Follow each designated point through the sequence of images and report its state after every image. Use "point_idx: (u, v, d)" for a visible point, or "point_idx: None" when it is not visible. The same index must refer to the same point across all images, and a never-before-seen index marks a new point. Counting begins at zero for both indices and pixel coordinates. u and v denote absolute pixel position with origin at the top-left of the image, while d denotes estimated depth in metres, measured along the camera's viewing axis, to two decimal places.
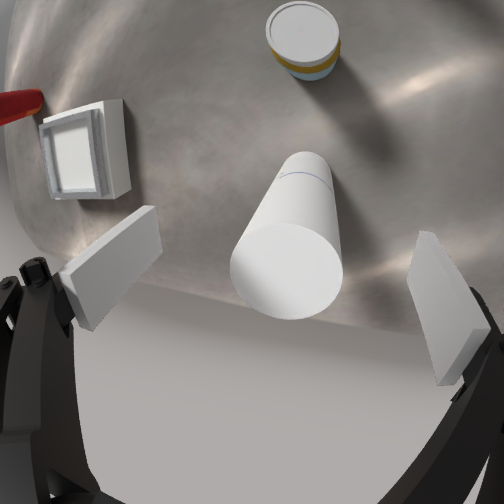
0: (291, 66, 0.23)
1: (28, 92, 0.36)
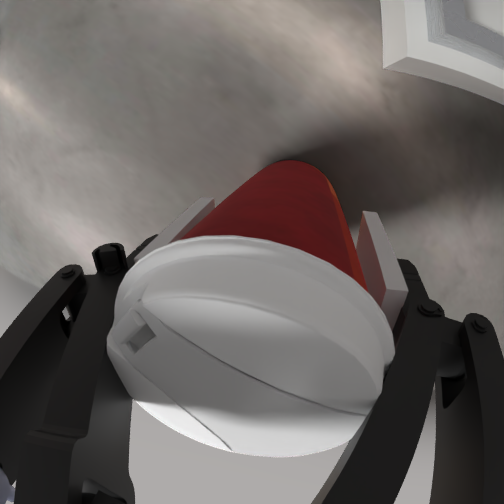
0: None
1: None
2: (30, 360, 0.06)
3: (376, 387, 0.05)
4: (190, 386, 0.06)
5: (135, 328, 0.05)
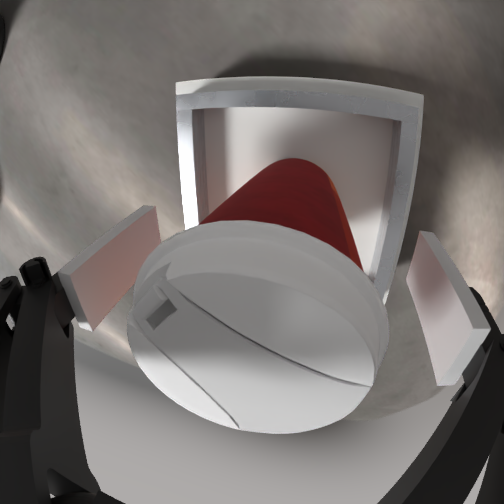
0: None
1: (255, 175, 0.15)
2: None
3: (372, 356, 0.06)
4: (204, 359, 0.07)
5: (158, 303, 0.06)
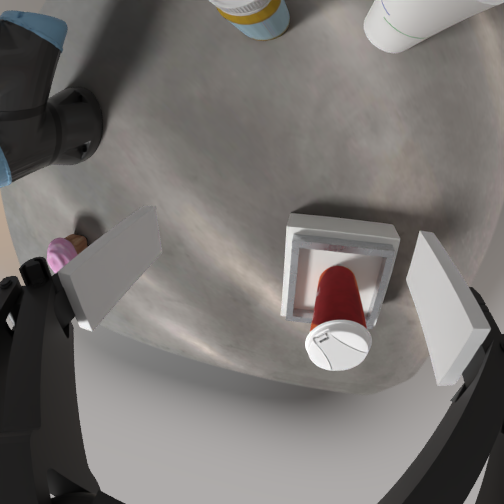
0: (273, 2, 0.20)
1: (327, 281, 0.37)
2: None
3: (367, 345, 0.28)
4: (331, 348, 0.29)
5: (325, 337, 0.29)
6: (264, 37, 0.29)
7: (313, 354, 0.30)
